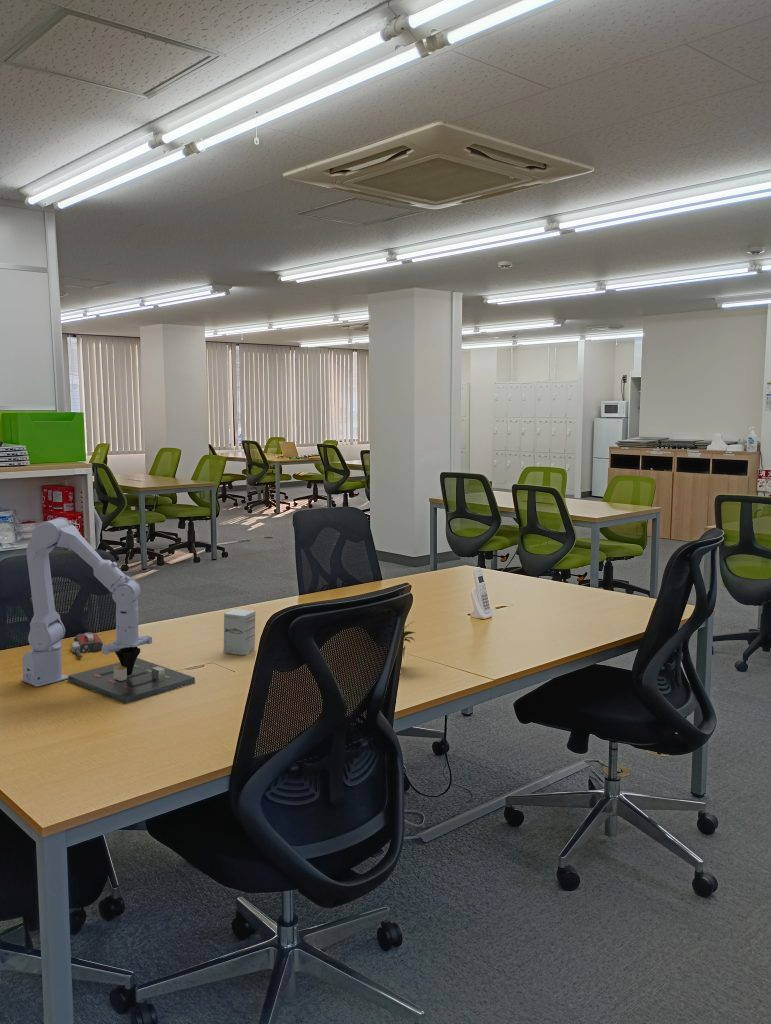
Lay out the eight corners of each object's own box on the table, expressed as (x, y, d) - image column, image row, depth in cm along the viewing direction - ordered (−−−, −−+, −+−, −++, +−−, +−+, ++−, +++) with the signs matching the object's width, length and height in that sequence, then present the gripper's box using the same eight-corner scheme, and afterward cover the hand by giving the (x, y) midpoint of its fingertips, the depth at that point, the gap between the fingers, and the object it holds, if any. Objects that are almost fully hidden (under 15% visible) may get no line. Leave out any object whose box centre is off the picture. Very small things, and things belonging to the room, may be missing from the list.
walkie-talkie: (67, 643, 260) (76, 661, 243) (67, 630, 260) (76, 647, 242) (96, 640, 264) (107, 658, 247) (96, 627, 264) (107, 643, 246)
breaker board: (125, 703, 209) (125, 686, 209) (68, 680, 225) (67, 664, 224) (194, 682, 226) (194, 666, 226) (137, 662, 242) (136, 647, 242)
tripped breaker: (120, 681, 221) (120, 669, 221) (113, 678, 223) (113, 666, 222) (126, 679, 223) (126, 667, 222) (120, 676, 224) (120, 665, 224)
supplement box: (222, 653, 254) (223, 613, 252) (234, 647, 261) (234, 607, 259) (244, 656, 252) (244, 615, 250) (255, 649, 259) (256, 610, 257)
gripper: (112, 633, 215) (113, 684, 216) (158, 623, 226) (159, 671, 228) (96, 628, 219) (97, 678, 221) (143, 618, 230) (143, 665, 232)
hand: (127, 674), depth 224 cm, fingers closed
